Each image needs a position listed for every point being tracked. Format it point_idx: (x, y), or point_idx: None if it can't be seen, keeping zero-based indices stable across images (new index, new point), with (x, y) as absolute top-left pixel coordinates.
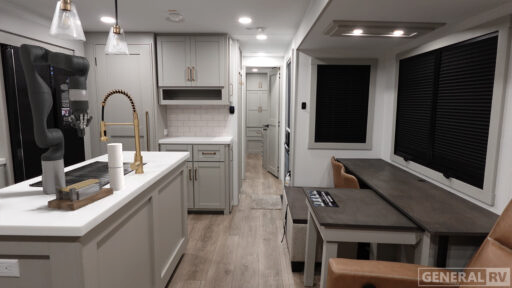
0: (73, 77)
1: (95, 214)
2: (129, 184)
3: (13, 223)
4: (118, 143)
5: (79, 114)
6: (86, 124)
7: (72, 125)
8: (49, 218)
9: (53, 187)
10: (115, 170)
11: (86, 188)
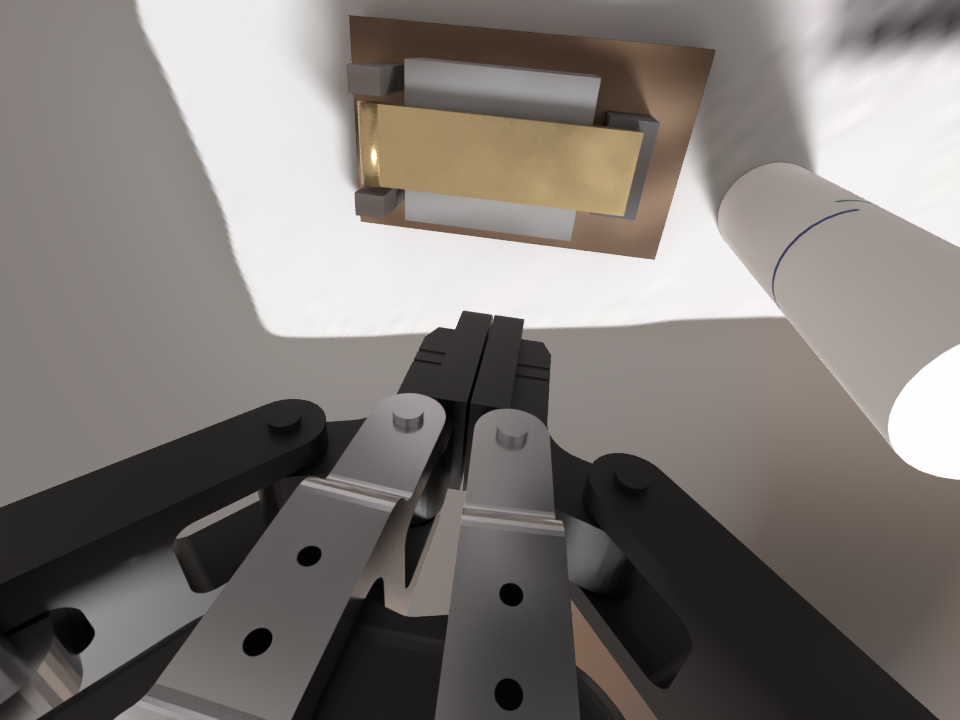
0: None
1: (364, 326)
2: None
3: (161, 33)
4: None
5: None
6: (579, 597)
7: (202, 440)
8: (267, 165)
9: None
10: (766, 288)
11: (464, 226)
